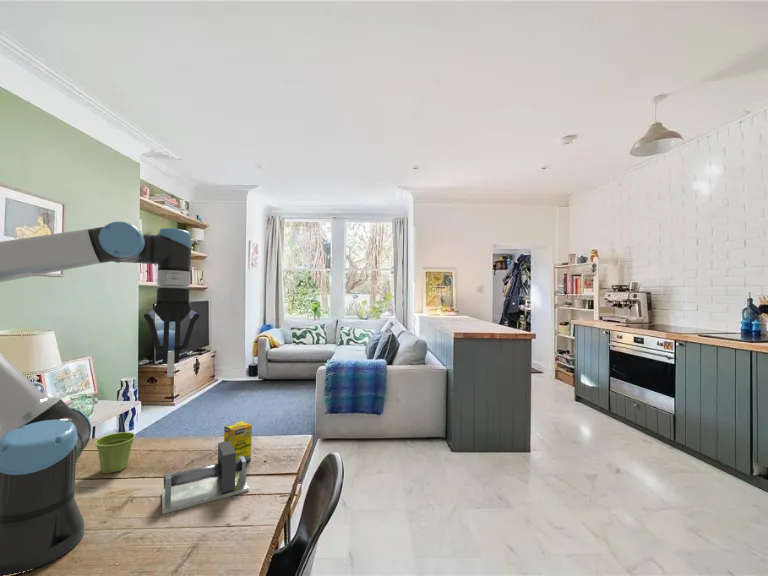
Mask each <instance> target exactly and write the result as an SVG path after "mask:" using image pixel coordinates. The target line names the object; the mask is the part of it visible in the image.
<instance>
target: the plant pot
mask: <svg viewBox="0 0 768 576" xmlns="http://www.w3.org/2000/svg"><path fill="white" fill-rule="evenodd" d="M135 438H136V433H134V432H123V431H122V432H117V433H115V432H114V433H111V434H106V435H104V436H102V437H100V438H98V439H96V440H95V441H94V445H95V446H96V449H97V450H98V451H97V452H98V457H99V458H98V459H99V466H100V472H101V473H102V474H112V473H114V472H120V471H123V470H124V469H126V468H127V467H128V464H129V459H130V454H131V449H132V445H133V443H134V439H135Z"/></svg>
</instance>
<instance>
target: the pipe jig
mask: <svg viewBox="0 0 768 576" xmlns="http://www.w3.org/2000/svg"><path fill="white" fill-rule="evenodd" d="M221 472H222V464H221V463H219V464H218V463H216V464H215V463H214V464H210V465H207V466H200V467H197V468H192V469H189V470H183V471H180V472H175V473H172V471H171V470H170V471H165V472H164V473H165V474H164V475H163V490H161V504H162V505H161V507H162V508H161V515H166V514H168V513H174V512H177V511H180V510H185V509H187V508H191V507H194V506H198V505H202V504H206V503H209V502H213V501H214V502H215V501H216V500H221V499H224V498H227V497H232V496H235V495H239V494H243V493H246V492H249V491H250V488H249V485H248V483H247V481H246V480H247V479H246V478H247V462H246V460H245V458H244V456H239V459H237V460H236V470H235V489H234V490H231V491H227V492H223V493H222V490H221V487H220V484H219V481H218V478H217V476H221Z"/></svg>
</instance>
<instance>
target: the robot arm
mask: <svg viewBox="0 0 768 576" xmlns="http://www.w3.org/2000/svg"><path fill="white" fill-rule="evenodd" d="M157 234H158V235H157ZM157 234H155V235H154V234H144V233H142V232H141V230H140V229H139V228H137V227H136V226H135V225H133V224H131V223H130V222H129V223H128V222H126V221H113V222H109V223H108V224H105V225H104V226H100V227H93V228H87V229H86V228H85V229H81V230H80V229H79V230H73V231H66V232H60V233H59V232H58V233H51V234H44V235H38V236H31V237H25V238H18V239H12V240H11V239H10V240H3V241H0V283H4V282H9V281H14V280H19V279H24V278H29V277H35V276H40V275H45V274H52V273H56V272H60V271H65V270H66V271H67V270H71V269H77V268H82V267H87V266H92V265H97V264H103V263H105V264H106V263H111V262H113V263H117V264H118V263H119V264H120V263H130V264H151V265H157V278H156V279H157V280H156V281H157V282H156V283H157V284H156V285H157V286H159V287H157V289H156V302H155V306H153V310H150V312H149V311H148V312H146V313H144V315H143V318H144V320H146V322H147V323H148V326H149V331H150V335H151V338H152V343H153V347H154V349H155V350H156V351H161V352H162V360H161V361H162V362H161V363H162V365H167V367H166V368H167V369H166V377H167V378H174V375H175V364H179V362H180V352H181V350H184V349H187V348H188V346H189V343H190V339H191V337H192V333H193V330H194V325H195V323H196V321H197V320H198V319H199V317H200V313H198V312H196V311H194V310H193V309H192V307H191V304H190V288H188V287H190V284H191V260H192V235H191V233H190V232H189V231H187V230H184V229H180V228H171V227H170V228H167V227H164V228H161V229H159V230H158V233H157ZM156 315H157V317H159V319H160V320H161V321H162V322H163V337H162V340H163V341H162V345H161V341H160V337H159V333H158V330H157V326H156V323H155V319H156ZM188 315H189V316H188ZM187 316H188V318H189V319H190V320H189V322H188V326H187V328H186V332H185V335H184V339H183V342H182V344H181V325H182V324H181V322H182V321H184V319H185V318H186V317H187ZM172 322H174V323H175V324H174V348H173V350H169V343H170V340H169V339H170V323H172ZM91 434H92V423H91V420H90V418H89V416H88V415H86V413H85V412H83V411H82V410H80V409H77V408H73V407H70V406H68V405H67V404H66V402H64V401H63V400H62V399H61V398H60V397H49V396H46V394H44V393H43V392H42V391H41V390H40V389H39V388H38V387H36V385H34V383H32V382H31V380H29V378H28V377H26V376H25V374H24V373H22V372H21V371H20V370H19V369H18V368H17V366H15V365H14V364H13V363H12V362H11V361H10V360H9V359H8V358H7V357H6V356H4V355H3V353H1V352H0V576H3V575H9V574H14V573H19V572H23V571H27V570H30V569H34V568H37V567H39V568H41V567H43V565H44V566H46V565H48V564H50V563H52V562H54V561H55V560H57V559H59V558H61V557H63V556H64V555H66V554H67V553H68V552H70V551H71V550H72V549H74V548H75V547H76V546H77V545H78V544H79V543H80V541H81V540H82V539H83V537H84V534H85V520H84V517H83V515H82V513H81V510H80V508H79V505H78V503H77V500H76V499H75V492H76V491H75V490H76V489H75V488H76V466H77V461H78V460H79V458H80V456H81V455H82V452H84V451H83V450H84V449H85V448H86V447H87V445H89V441H90V439H91V436H92V435H91ZM45 564H46V565H45ZM40 566H41V567H40ZM37 569H38V568H37ZM34 570H35V569H34Z"/></svg>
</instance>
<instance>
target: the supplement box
mask: <svg viewBox="0 0 768 576" xmlns="http://www.w3.org/2000/svg"><path fill="white" fill-rule="evenodd" d="M252 427H253V425H252V424H250V423H248V422H245V421H243V420H241V421H238V422H235V423H234V422H233V423H231V424H226V425H224V429H223V430H224V431H223V432H224V433H223V442H226V441H230V442H231V444H232V446H233V448H234V450H235V452H236V460H237V459H239V456H244V458H245V460H246V463H247V461H248V462H250V461H252V436H253V435H252V433H253V432H252V430H253V428H252ZM249 460H250V461H249Z"/></svg>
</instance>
